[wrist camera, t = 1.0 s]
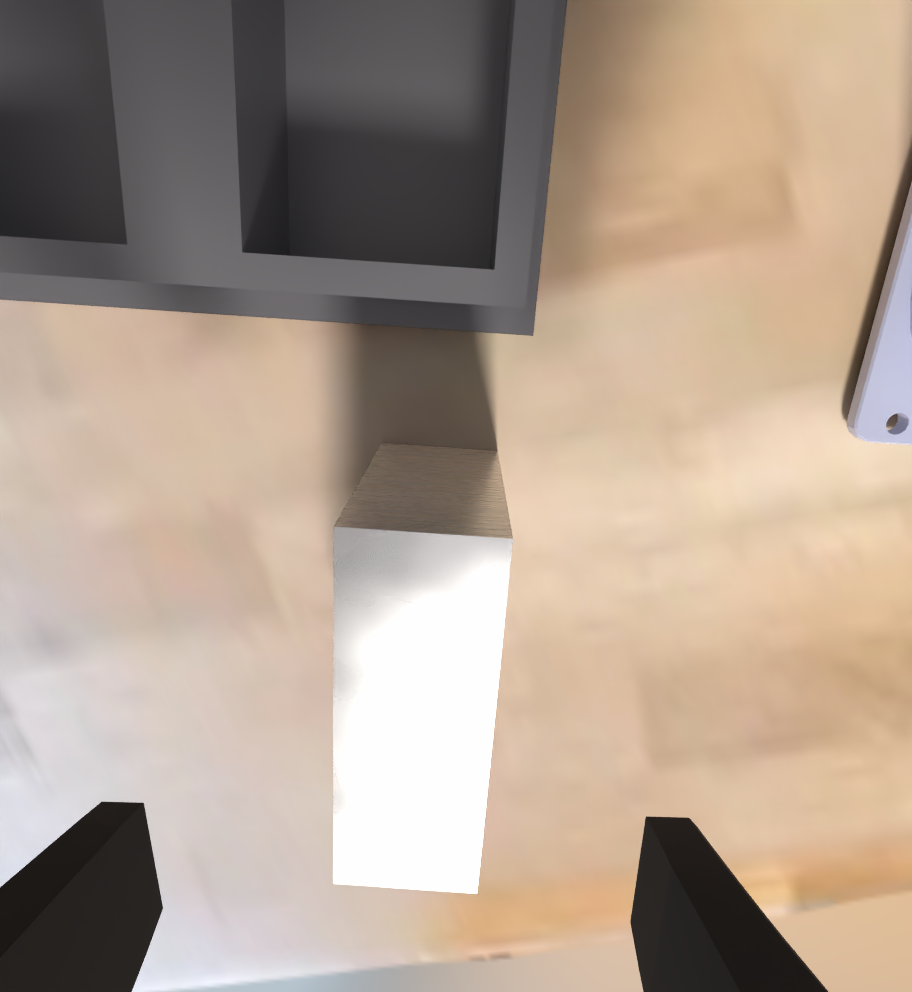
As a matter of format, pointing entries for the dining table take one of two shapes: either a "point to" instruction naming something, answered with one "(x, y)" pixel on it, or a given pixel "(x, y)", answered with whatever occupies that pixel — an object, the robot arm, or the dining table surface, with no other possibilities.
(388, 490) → the grey metallic block
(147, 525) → the dining table surface
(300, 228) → the box
